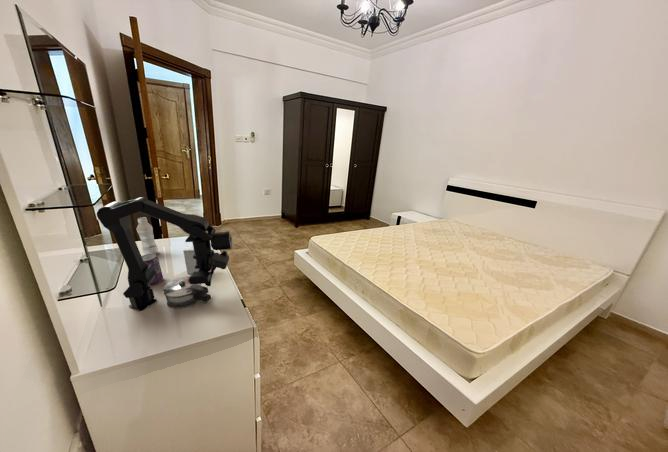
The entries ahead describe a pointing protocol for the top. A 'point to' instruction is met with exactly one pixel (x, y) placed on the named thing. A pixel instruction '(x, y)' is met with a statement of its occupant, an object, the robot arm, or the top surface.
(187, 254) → the skincare box
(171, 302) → the pot
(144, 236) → the plastic bottle
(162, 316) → the top surface
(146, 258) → the beverage can
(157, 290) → the top surface
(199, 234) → the robot arm
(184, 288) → the lid
